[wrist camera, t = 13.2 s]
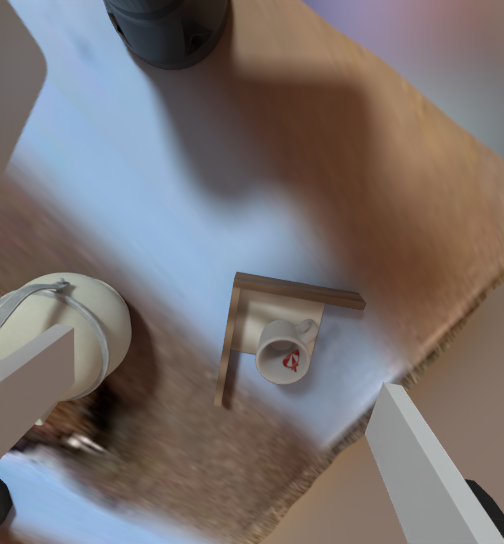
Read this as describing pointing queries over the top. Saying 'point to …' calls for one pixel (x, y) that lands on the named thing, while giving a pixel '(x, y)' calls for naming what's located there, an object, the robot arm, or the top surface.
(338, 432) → the top surface
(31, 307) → the kettle
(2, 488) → the tankard
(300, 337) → the cup
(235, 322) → the wooden corner frame
